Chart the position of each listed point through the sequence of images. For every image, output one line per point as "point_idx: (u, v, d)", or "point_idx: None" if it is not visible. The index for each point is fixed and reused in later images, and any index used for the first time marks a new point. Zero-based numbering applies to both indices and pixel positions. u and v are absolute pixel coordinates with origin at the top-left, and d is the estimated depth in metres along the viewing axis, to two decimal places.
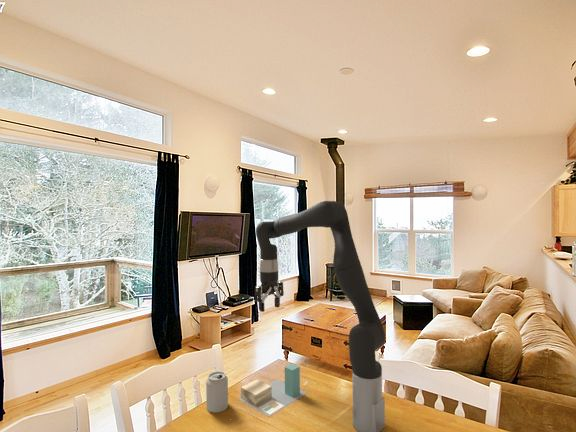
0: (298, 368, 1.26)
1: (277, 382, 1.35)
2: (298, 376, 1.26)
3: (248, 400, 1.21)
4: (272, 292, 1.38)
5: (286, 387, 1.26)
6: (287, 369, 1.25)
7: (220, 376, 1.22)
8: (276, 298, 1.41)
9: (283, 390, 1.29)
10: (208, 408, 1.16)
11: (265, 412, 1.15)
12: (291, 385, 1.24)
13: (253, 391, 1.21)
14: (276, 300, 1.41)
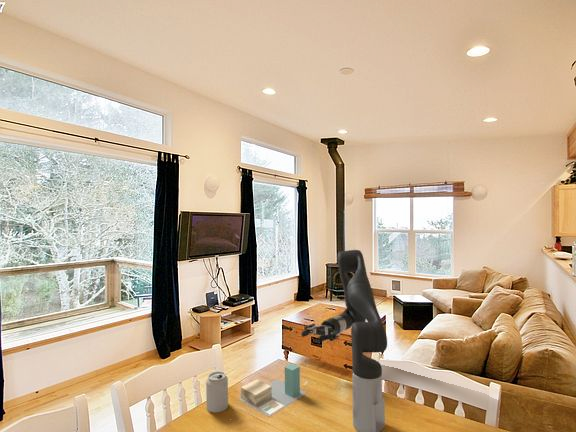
0: (298, 368, 1.26)
1: (277, 382, 1.35)
2: (298, 376, 1.26)
3: (248, 400, 1.21)
4: (322, 330, 1.39)
5: (286, 387, 1.26)
6: (287, 369, 1.25)
7: (220, 376, 1.22)
8: None
9: (283, 390, 1.29)
10: (208, 408, 1.16)
11: (265, 412, 1.15)
12: (291, 385, 1.24)
13: (253, 391, 1.21)
14: None
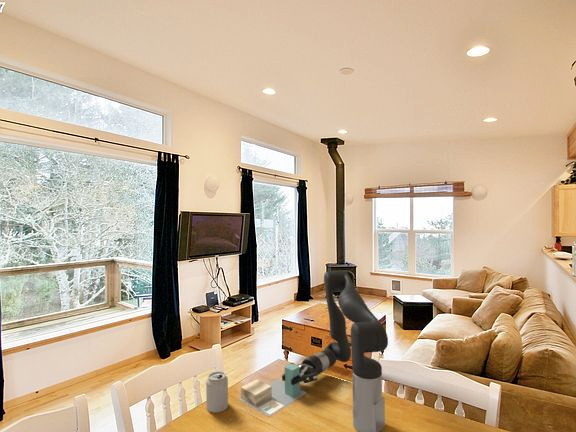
0: (298, 368, 1.26)
1: (277, 382, 1.35)
2: None
3: (248, 400, 1.21)
4: (301, 369, 1.30)
5: (286, 387, 1.26)
6: (287, 369, 1.25)
7: (220, 376, 1.22)
8: None
9: (283, 390, 1.29)
10: (208, 408, 1.16)
11: (265, 412, 1.15)
12: (291, 385, 1.24)
13: (253, 391, 1.21)
14: None
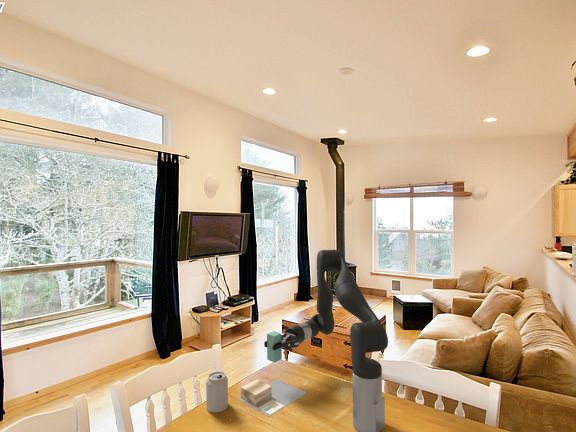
0: (280, 335, 1.30)
1: (277, 382, 1.35)
2: None
3: (248, 400, 1.21)
4: (283, 337, 1.35)
5: (268, 353, 1.30)
6: (269, 335, 1.30)
7: (220, 376, 1.22)
8: None
9: (283, 390, 1.29)
10: (208, 408, 1.16)
11: (265, 412, 1.15)
12: (273, 351, 1.28)
13: (253, 391, 1.21)
14: None
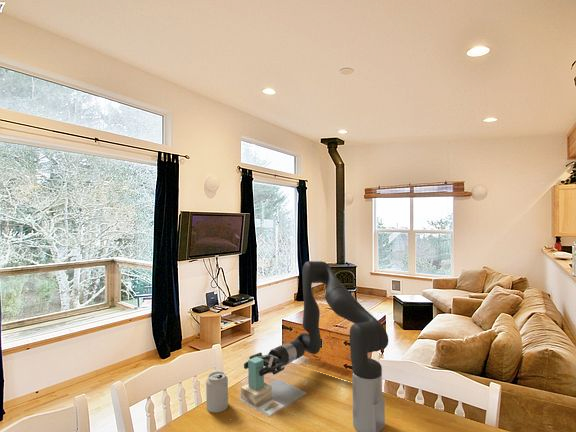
0: (262, 361, 1.24)
1: (277, 382, 1.35)
2: None
3: (248, 400, 1.21)
4: (267, 360, 1.27)
5: (249, 380, 1.23)
6: (251, 362, 1.23)
7: (220, 376, 1.22)
8: None
9: (283, 390, 1.29)
10: (208, 408, 1.16)
11: (265, 412, 1.15)
12: (254, 378, 1.22)
13: (253, 391, 1.21)
14: None
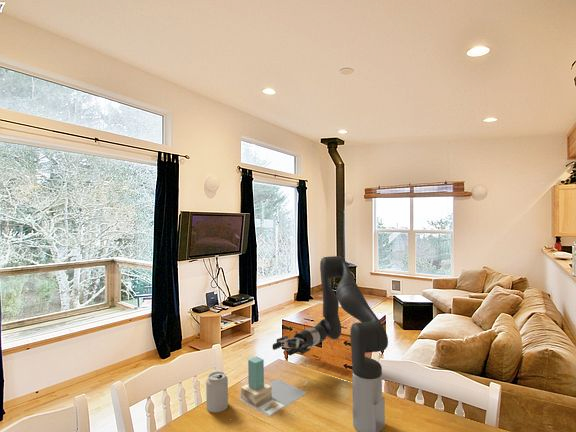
0: (262, 361, 1.24)
1: (277, 382, 1.35)
2: (262, 369, 1.23)
3: (248, 400, 1.21)
4: (293, 342, 1.36)
5: (249, 380, 1.23)
6: (251, 362, 1.23)
7: (220, 376, 1.22)
8: None
9: (283, 390, 1.29)
10: (208, 408, 1.16)
11: (265, 412, 1.15)
12: (254, 378, 1.22)
13: (253, 391, 1.21)
14: None
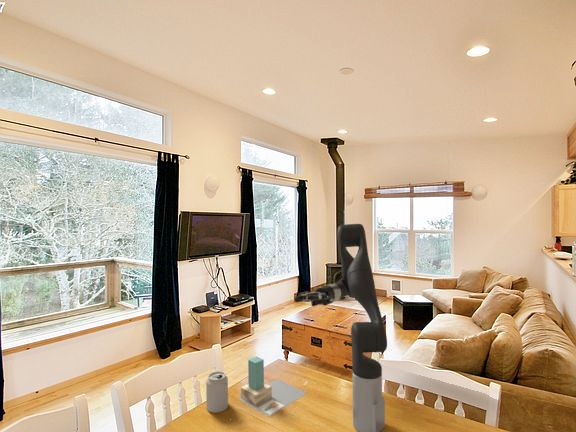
0: (262, 361, 1.24)
1: (277, 382, 1.35)
2: (262, 369, 1.23)
3: (248, 400, 1.21)
4: (316, 295, 1.36)
5: (249, 380, 1.23)
6: (251, 362, 1.23)
7: (220, 376, 1.22)
8: None
9: (283, 390, 1.29)
10: (208, 408, 1.16)
11: (265, 412, 1.15)
12: (254, 378, 1.22)
13: (253, 391, 1.21)
14: None
